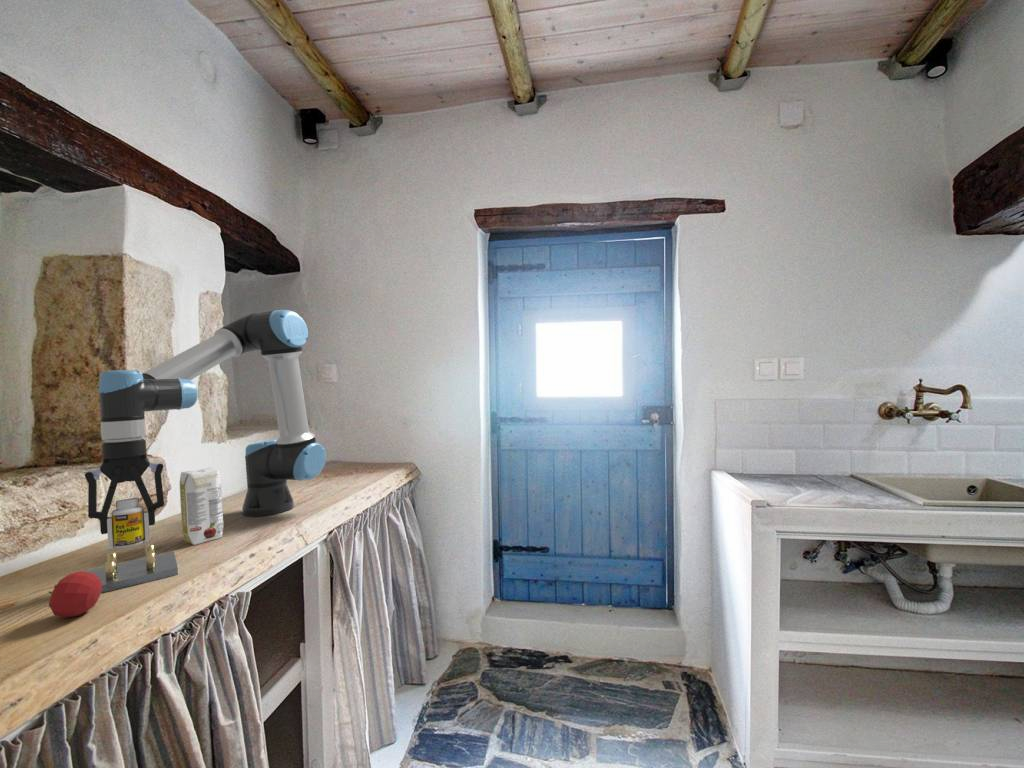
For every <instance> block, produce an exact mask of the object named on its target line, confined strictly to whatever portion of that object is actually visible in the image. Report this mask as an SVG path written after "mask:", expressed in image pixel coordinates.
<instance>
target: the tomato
mask: <svg viewBox="0 0 1024 768" xmlns="http://www.w3.org/2000/svg"><path fill="white" fill-rule="evenodd" d="M101 590H102V582H101V580H100V579H99V577H98V576H97V575H96V574H94V573H89V572H86V571H82V570H79V571H75V572H71V573H69V574H67V575H66V576H64V577H63V578H62V579H60V580H59V581H58V582H57V583H56V584H54V588H53V590H52V591H48V594H50V598H49V602H48V607H49V609H50V610H51V612H52V613H53V615H54V616H57V617H61V618H64V619H65V618H67V619H69V618H73V617H80V616H81V615H83V614H85V613H86V612H88V611H89V610H90V609H92V608H94V607H95V605H97V602H98V600H99V598H100V597H101V594H102V593H101Z"/></svg>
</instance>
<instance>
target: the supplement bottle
mask: <svg viewBox="0 0 1024 768" xmlns="http://www.w3.org/2000/svg"><path fill="white" fill-rule="evenodd" d="M115 508H116V509H114V510H112V511H111V516H112V532H113V549H117V550H120V549H121V550H123V549H124V550H125V549H129V548H135V547H136V546H140V545H143V544H144V543H145V524H144V511H145V508H144V506H142V505H141V504H140V499H139V497H136V496H135V497H126V498H121V499H117V500H115Z"/></svg>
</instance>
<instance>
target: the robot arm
mask: <svg viewBox="0 0 1024 768" xmlns="http://www.w3.org/2000/svg"><path fill="white" fill-rule="evenodd" d="M308 330H309V329H308V326H307V324H306V322H305V320H304V319H303V317H302V316H300V315H299V314H298V313H297V312H295V311H294V310H290V309H278V310H272V311H263V312H257V313H256V312H255V313H249V314H246V315H244V316H241V317H239V318H238V319H235V320H233V321H231V322H230V323H228V324H226V325H224V326H222V327H220V328H217V330H215V332H214V334H213V336H211V337H209V338H207V339H205V340H203V341H201V342H199V343H197V344H196V345H193V346H191V347H189V348H187V349H186V350H184V351H182V352H181V353H178V354H176V355H174V356H173V357H171V358H169V359H167V360H164V361H163V362H161V363H159V364H157V365H156V366H155V365H154V366H153V367H151V368H150V369H147V370H146V371H144V372H142V371H141V370H134V369H133V370H132V369H126V370H125V369H123V370H122V369H119V370H117V369H116V370H115V369H114V370H104V371H103V372H101V373H100V374H99V376H98V377H99V378H98V391H97V392H98V397H99V412H100V414H99V415H100V431H101V436H100V437H101V440H102V441H105V442H102V444H101V452H102V453H101V455H102V462H101V465H100V467H99V468H96V469H93V470H88V471H86V472H85V473H84V478H85V479H86V482H87V484H88V486H87V487H88V491H87V492H88V493H87V494H88V499H87V500H88V501H87V503H88V504H87V508H88V509H87V516H88V519H97V520H99V527H100V534H101V535H106V534H107V547H108V550H113V549H114V546H113V532H112V515H111V516H108V515H109V513H110V512H109V511H110V508H111V505H112V504H113V503H112V502H113V499H114V496H115V492H116V489H117V486H118V484H122V483H124V482H134V483H135V485H136V487H137V489H138V492H139V494H140V495H141V496H140V497H142V500H143V502H144V504H145V507H146V509H147V510H144V524H145V541H144V543H147V542H148V543H149V542H150V540H151V539H150V526H154V525H155V524H156V516H155V515H156V512H155V511H156V510H157V509H159V508H162V507H164V505H165V499H164V489H163V481H162V480H163V479H162V473H163V469H164V464H163V463H162V462H158V463H157V462H152V461H151V462H150V460H149V458H148V457H147V455H148V454H147V440H146V439H145V438H144V437H146V421H145V420H146V417H145V414H146V413H145V412H155V411H156V412H157V411H170V410H179V411H180V410H185V409H189V408H192V407H193V406H194V405H196V403H197V401H198V398H199V395H198V394H199V393H198V392H199V391H198V387H197V385H196V384H195V382H194V381H193V379H195V378H197V377H198V376H201V375H202V374H203V373H206V372H207V371H209V370H210V369H212V368H215V366H217V365H219V364H221V363H222V362H225V361H226V360H228V359H230V358H237V357H240V356H241V355H243V354H246V353H250V352H256V351H260V353H261V357H262V358H264V359H265V360H267V362H268V369H269V374H270V375H269V377H270V382H271V388H272V394H273V402H274V407H275V413H276V421H277V427H278V431H279V436H278V438H277V439H273V440H267V441H262V442H254V443H249V444H248V445H247V446H245V456H244V459H245V460H244V461H245V472H246V484H247V487H246V489H247V490H246V494H245V497H244V501H243V503H242V509H241V511H242V515H243V516H245V517H263V516H271V515H276V514H281V513H284V512H286V511H289V510H291V509H293V508H294V507H295V505H294V498H293V495H292V493H291V491H290V488H289V486H288V481H287V480H290V481H306V480H312V479H315V478H317V477H318V476H319V475H320V474H321V473H322V472H323V471H322V470H323V468H325V464H326V460H327V453H326V449H325V447H324V446H323V445H322V444H320V443H318V442H317V441H316V436H315V434H314V433H313V432H311V431H310V428H309V421H308V415H307V409H306V408H307V407H306V402H305V396H304V389H303V381H302V377H301V376H302V375H301V368H300V362H299V361H300V360H299V357H300V356H301V355H302V354H303V346H304V345H305V344H306V343H307V340H308V337H309V331H308ZM148 468H150V472H152V473H153V474H154V486H155V493H156V494H155V496H156V502H153V501H152V497H151V495H150V494H149V492H148V489H147V487H146V485H145V483H144V480H143V478H142V476H143V475H144V473H145V472H146V471H147V469H148ZM100 474H103V475H105V477H106V478H107V479H109V480H110V484H109V485H108V490H107V492H106V496H105V498H104V503H103V504H102V508H101V511H98V510H97V509H98V507H97V505H98V503H97V501H98V500H97V499H98V494H97V492H98V487H97V485H98V483H97V480H99V479H100V477H101V476H100Z"/></svg>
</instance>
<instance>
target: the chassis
mask: <svg viewBox="0 0 1024 768" xmlns="http://www.w3.org/2000/svg"><path fill="white" fill-rule="evenodd" d="M144 549H145V557H142V558H137V559H134V560H133V559H132V560H128V561H124V562H120V563H117V552H115V551H114V552H109V553H107V554H106V561H105V562H104V566H101V567H97V568H93V569H92V568H91V569H87V570H85V572H89V573H94V574H96V575H97V576H98V577H99V579H100V580H101V582H102V590H101V594H102V593H103V594H104V593H107V592H111V591H114V590H115V591H116V590H118V589H124V588H128V587H132V586H135V585H140V584H144V583H148V582H151V581H152V582H153V581H156V580H157V581H158V580H161V579H165V578H169V577H173V576H176V575H179V570H178V569H179V568H178V563H177V559H176V554H175V551H170V552H166V553H160V554H156V552H155V545H154V544H148V545H145V548H144Z"/></svg>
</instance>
